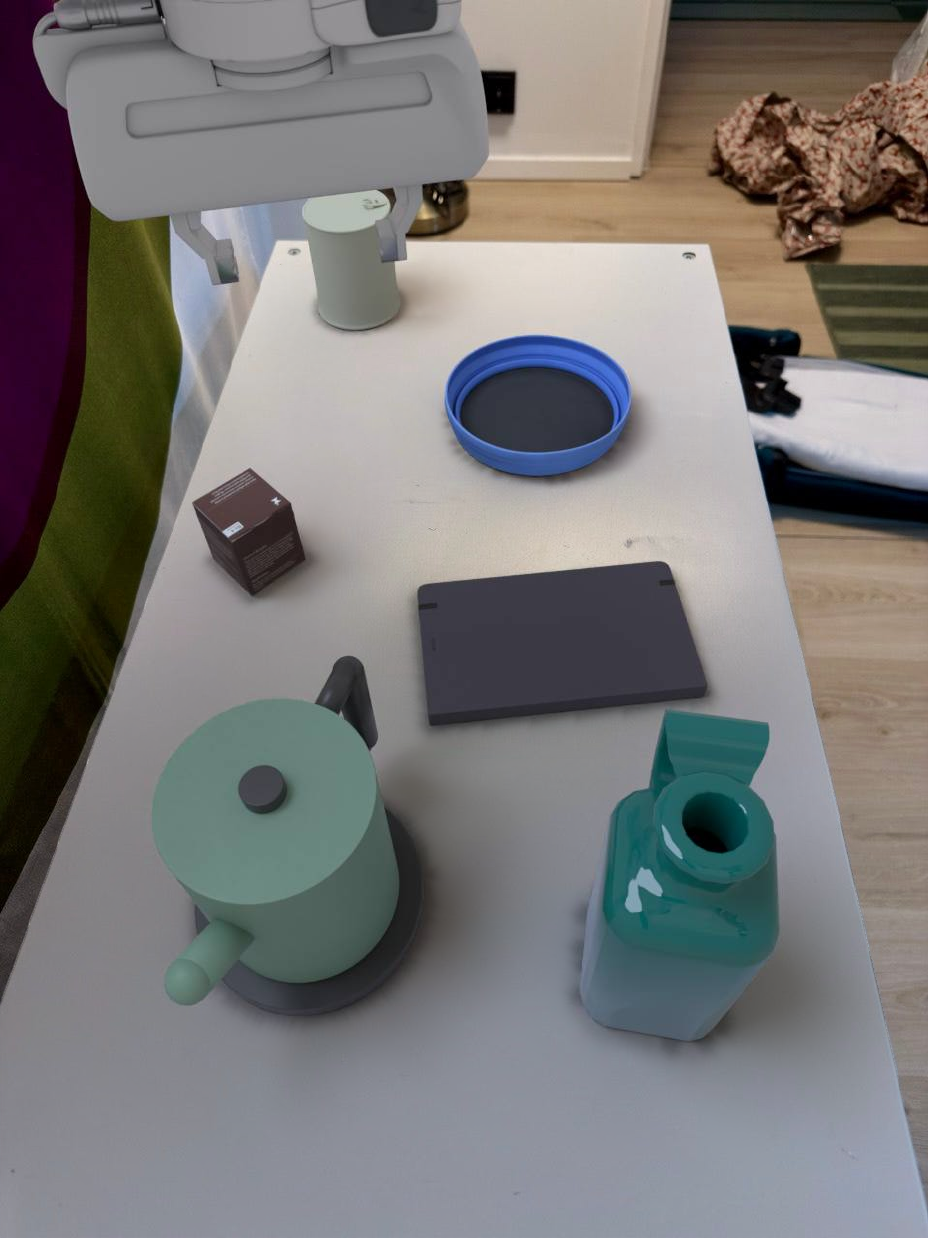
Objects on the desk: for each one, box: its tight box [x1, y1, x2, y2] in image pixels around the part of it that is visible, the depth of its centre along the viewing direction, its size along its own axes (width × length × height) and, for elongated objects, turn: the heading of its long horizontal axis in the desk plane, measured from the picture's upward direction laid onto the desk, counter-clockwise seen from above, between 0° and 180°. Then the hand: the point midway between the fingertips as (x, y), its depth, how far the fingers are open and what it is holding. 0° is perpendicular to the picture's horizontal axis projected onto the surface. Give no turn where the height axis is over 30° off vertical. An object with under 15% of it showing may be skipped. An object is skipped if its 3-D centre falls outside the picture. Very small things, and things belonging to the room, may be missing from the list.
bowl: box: [444, 334, 632, 477], centre depth 88 cm, size 18×18×4 cm
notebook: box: [417, 560, 708, 726], centre depth 72 cm, size 13×2×21 cm
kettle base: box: [194, 806, 425, 1017], centre depth 60 cm, size 15×15×2 cm
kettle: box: [150, 655, 399, 1007], centre depth 53 cm, size 22×12×15 cm, turn 160°
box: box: [191, 467, 307, 597], centre depth 76 cm, size 6×6×7 cm
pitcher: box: [579, 708, 781, 1042], centre depth 49 cm, size 10×8×22 cm
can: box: [301, 190, 401, 331], centre depth 97 cm, size 9×9×12 cm
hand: (310, 267), depth 51 cm, fingers open, 8 cm apart
